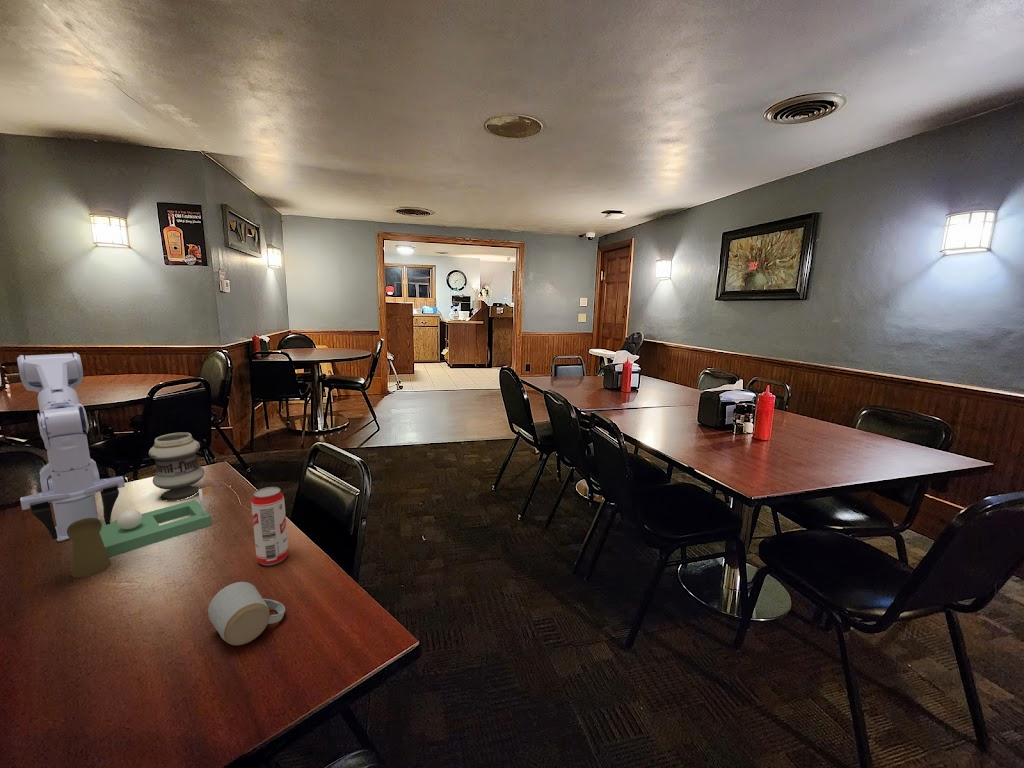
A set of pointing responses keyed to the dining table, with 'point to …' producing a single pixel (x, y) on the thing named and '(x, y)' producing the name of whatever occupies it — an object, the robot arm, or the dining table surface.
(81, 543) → the cork
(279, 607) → the ceramic mug
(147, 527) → the green
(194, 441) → the apothecary jar
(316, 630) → the dining table surface
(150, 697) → the dining table surface
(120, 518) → the egg
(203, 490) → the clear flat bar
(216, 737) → the dining table surface
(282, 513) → the beer can
